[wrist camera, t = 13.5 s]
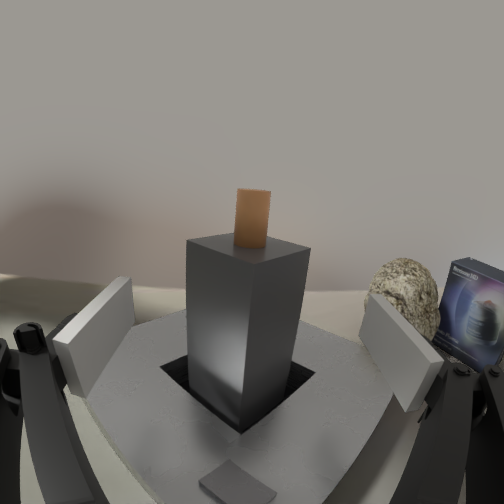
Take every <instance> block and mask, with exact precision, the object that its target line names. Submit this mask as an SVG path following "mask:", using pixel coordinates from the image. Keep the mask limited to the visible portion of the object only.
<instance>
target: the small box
mask: <svg viewBox="0 0 504 504" xmlns="http://www.w3.org/2000/svg"><path fill="white" fill-rule="evenodd" d="M438 310H439V313H440V325H439V327H438V329H437V332H436V334H435V336H434V337H433V339H432V341H431V342H432V343H434V344H435V345H437V346H438V347H440V348H441V349H443V350H445V351H446V352H448V353H449V354H451V355H452V356H454V357H456V358H457V359H459V360H460V361H462V362H463V363H465V364H466V365H468V366H470V367H471V368H473V369H474V370H476V371H477V372H479V373H480V374H481V372H482V370H483V368H484V366H485V365H487V364H492V365H496V366H498V364H499V363H500V361H501V360H502V357H503V355H504V271H502V270H499V269H497V268H494V267H492V266H490V265H487V264H485V263H482V262H480V261H477V260H475V259H473V258H470V257H468V258H464V259H459V260H455V261H452V263H451V267H450V271H449V275H448V278H447V282H446V286H445V289H444V292H443V296H442V299H441V302H440V305H439V308H438Z"/></svg>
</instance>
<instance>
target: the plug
mask: <svg viewBox="0 0 504 504" xmlns="http://www.w3.org/2000/svg"><path fill="white" fill-rule="evenodd" d="M270 197H271V191H265V190H257V189H238V190H237V202H236V217H235V230H234V233H229V234H222V235H216V236H209V237H203V238H196V239H190V240H187V245H186V325H187V354H188V374H189V390H190V395H191V396H192V397H193V398H195V399H196V400H197V401H198V402H199V403H201V404H202V405H203V406H204V407H205V408H207V409H208V410H209V411H210V412H212V413H213V414H214V415H215V416H217V417H218V418H219V419H221V420H222V421H223V422H224V423H226V424H227V425H228V426H230V427H231V428H232V429H234V430H235V431H237V432H238V433H241V432H242V431H243V430H245V429H246V428H247V427H249V426H250V425H251V424H253V423H254V422H255V421H257V420H258V419H259V418H261V417H262V416H263V415H264V414H266V413H267V412H268V411H269V410H271V409H272V408H273V407H274V406H276V405H277V404H278V403H279V402H280V401H282V400H283V397H284V393H285V388H286V384H287V379H288V375H289V370H290V365H291V360H292V355H293V350H294V345H295V340H296V335H297V329H298V324H299V319H300V313H301V307H302V301H303V295H304V289H305V283H306V276H307V270H308V263H309V256H310V250H311V248H308V247H305V246H301V245H297V244H294V243H290V242H286V241H282V240H278V239H275V238H271V237H268V236H267V228H268V217H269V207H270Z"/></svg>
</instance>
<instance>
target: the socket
mask: <svg viewBox="0 0 504 504" xmlns="http://www.w3.org/2000/svg"><path fill="white" fill-rule="evenodd" d="M393 394H394V393H393V391H392V389H391V388H390V386H389V384H388V383H387V381H386V379H385V378H384V376H383V374H382V373H381V371H380V369H379V368H378V366H377V364H376V363H375V361H374V360H373V358H372V356H371V355H370V353H369V352H368V350H367V348H366V347H364V346H362V345H359V344H357V343H354V342H352V341H349V340H347V339H344V338H342V337H339V336H337V335H334V334H332V333H330V332H327V331H325V330H322V329H320V328H317V327H315V326H313V325H310V324H308V323H306V322H303V321H301V320H299V324H298V329H297V335H296V340H295V345H294V350H293V355H292V360H291V365H290V370H289V375H288V379H287V384H286V388H285V393H284V397H283V400H282V401H280V402H279V403H278V404H277V405H276V406H274V407H273V408H272V409H271V410H269V411H268V412H267V413H266V414H264V415H263V416H262V417H261V418H259V419H258V420H257V421H255V422H254V423H253V424H251V425H250V426H249V427H247V428H246V429H245V430H243V431H242V432H241V433H238V432H237V431H235V430H234V429H232V428H231V427H230V426H228V425H227V424H226V423H224V422H223V421H222V420H221V419H219V418H218V417H217V416H215V415H214V414H213V413H212V412H210V411H209V410H208V409H207V408H205V407H204V406H203V405H202V404H201V403H199V402H198V401H197V400H196V399H195V398H193V397H192V396H191V395H190V390H189V374H188V354H187V325H186V309H185V310H182V311H179V312H176V313H173V314H170V315H167V316H163V317H160V318H157V319H154V320H151V321H148V322H145V323H142V324H139V325H136V326H132V327H131V329H130V330H129V332H128V333H127V335H126V336H125V338H124V339H123V341H122V342H121V344H120V345H119V347H118V348H117V350H116V351H115V353H114V354H113V356H112V357H111V359H110V361H109V362H108V364H107V365H106V367H105V368H104V370H103V372H102V373H101V375H100V376H99V378H98V380H97V381H96V383H95V384H94V386H93V388H92V389H91V391H90V393H89V394H88V396H87V398H82V397H81V398H82V400H83V401H84V403H85V405H86V407H87V409H88V410H89V412H90V414H91V415H92V417H93V419H94V420H95V422H96V424H97V425H98V427H99V428H100V430H101V432H102V433H103V435H104V436H105V438H106V439H107V441H108V442H109V444H110V445H111V446H112V448H113V449H114V451H115V452H116V454H117V455H118V456H119V458H120V459H121V460H122V462H123V463H124V464H125V466H126V467H127V468H128V470H129V471H130V472H131V473H132V475H133V476H134V477H135V478H136V479H137V481H138V482H139V483H140V484H141V485H142V487H143V488H144V489H145V490H146V491H147V492H148V494H149V495H150V496H151V497H152V498H153V499H154V500H155V501H156V502H157V503H158V504H322V503H323V502H324V501H325V499H326V498H327V497H328V496H329V494H330V493H331V492H332V491H333V489H334V488H335V487H336V486H337V484H338V483H339V482H340V480H341V479H342V478H343V476H344V475H345V473H346V472H347V471H348V469H349V468H350V466H351V465H352V464H353V462H354V461H355V459H356V458H357V456H358V455H359V453H360V452H361V450H362V449H363V447H364V445H365V444H366V442H367V441H368V439H369V437H370V436H371V434H372V432H373V431H374V429H375V427H376V426H377V424H378V422H379V420H380V419H381V417H382V415H383V413H384V411H385V410H386V408H387V406H388V404H389V402H390V400H391V398H392V396H393Z"/></svg>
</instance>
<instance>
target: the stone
mask: <svg viewBox="0 0 504 504" xmlns="http://www.w3.org/2000/svg"><path fill="white" fill-rule="evenodd" d="M369 290H370V291H369V293H368V294H367V295H366V296H365V300H364V307H365V311H366V307H367V303H368V299H369V295H370V294H381V295H382V296H383V297H384V298H385V299H386V300H387V301H388V302H389V303H390V304H391V305H392V306H393V307H394V308H395V309H396V310H397V311H398V312H399V313H400V314H401V315H402V316H403V317H404V318H405V319H406V320H407V321H408V322H409V323H410V324H411V325H412V326H413V327H414V328H415V329H416V330H417V331H418V332H419V334H422V335H424V336H425V337H427V338H428V339H429V340H430V341H432V339H433V337H434V336H435V334H436V332H437V329H438V327H439V325H440V313H439V310H438V304H437V301H438V291H437V285H436V283H435V281H434V279H432V276H431V274H430V272H429V270H428V269H427V268H426V267H424V266H423V265H421V264H420V263H418V262H416V261H413V260H411V259H407V258H399V259H396V260H393V261H390V262H388V263H387V264H385V265H383V266H382V267H381V268H380V269H379V271H378V272H376V273H375V275H374V277H373V279H372V282H371V283H370V288H369Z"/></svg>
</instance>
